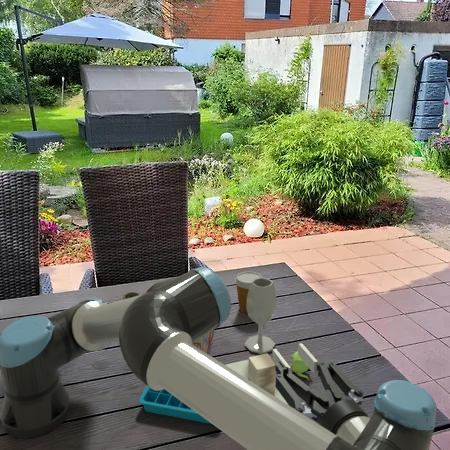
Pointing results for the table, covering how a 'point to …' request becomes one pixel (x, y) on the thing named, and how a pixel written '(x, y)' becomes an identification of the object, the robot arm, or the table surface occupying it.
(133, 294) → the mate gourd
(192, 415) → the ice cube tray
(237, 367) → the rubber mat
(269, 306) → the wineglass
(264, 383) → the birch block
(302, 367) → the green monster figurine
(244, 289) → the disposable coffee cup
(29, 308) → the table surface
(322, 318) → the table surface
